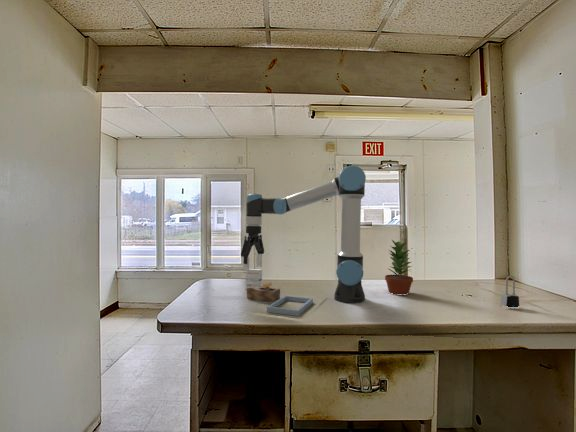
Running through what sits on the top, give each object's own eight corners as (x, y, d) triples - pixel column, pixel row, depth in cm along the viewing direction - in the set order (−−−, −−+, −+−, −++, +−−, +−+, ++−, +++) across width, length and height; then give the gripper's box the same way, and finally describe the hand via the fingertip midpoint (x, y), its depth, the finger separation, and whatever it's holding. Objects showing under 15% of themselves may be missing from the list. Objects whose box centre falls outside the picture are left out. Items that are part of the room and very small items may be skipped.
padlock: (513, 306, 148) (513, 275, 148) (520, 309, 144) (520, 276, 144) (499, 306, 148) (500, 274, 148) (506, 309, 143) (506, 276, 143)
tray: (312, 304, 146) (313, 298, 146) (298, 318, 127) (298, 310, 127) (285, 301, 151) (285, 295, 151) (266, 313, 132) (266, 306, 132)
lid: (284, 299, 155) (284, 282, 155) (274, 306, 143) (274, 287, 143) (260, 296, 159) (261, 279, 159) (248, 303, 147) (249, 285, 147)
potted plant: (418, 296, 164) (419, 239, 164) (389, 296, 164) (390, 239, 164) (408, 290, 179) (408, 237, 179) (381, 289, 179) (382, 237, 179)
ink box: (262, 289, 175) (262, 268, 175) (260, 292, 170) (260, 270, 170) (247, 289, 176) (247, 268, 176) (245, 291, 171) (245, 269, 171)
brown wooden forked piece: (280, 298, 153) (280, 288, 153) (274, 302, 146) (274, 291, 146) (251, 295, 158) (251, 285, 158) (244, 299, 151) (244, 288, 151)
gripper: (258, 224, 167) (257, 264, 167) (233, 225, 144) (232, 271, 144) (271, 225, 164) (270, 265, 164) (248, 226, 141) (247, 273, 141)
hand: (252, 268), depth 154 cm, fingers open, 13 cm apart
